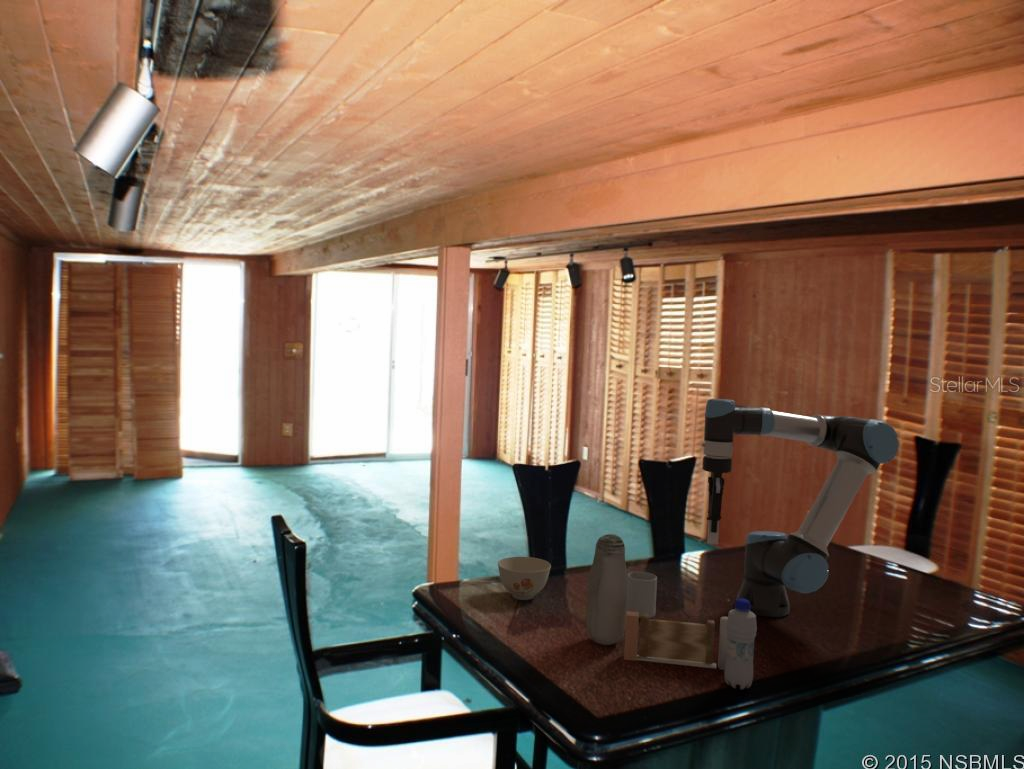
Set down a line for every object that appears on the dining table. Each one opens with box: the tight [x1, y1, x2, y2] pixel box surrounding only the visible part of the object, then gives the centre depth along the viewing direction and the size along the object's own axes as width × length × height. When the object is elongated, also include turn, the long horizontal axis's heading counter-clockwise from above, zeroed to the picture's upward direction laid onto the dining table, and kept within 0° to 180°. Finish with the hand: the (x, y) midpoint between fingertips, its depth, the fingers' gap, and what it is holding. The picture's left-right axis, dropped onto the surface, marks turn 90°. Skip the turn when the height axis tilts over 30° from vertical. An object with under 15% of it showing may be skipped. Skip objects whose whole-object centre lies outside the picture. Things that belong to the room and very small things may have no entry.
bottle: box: [723, 598, 758, 690], centre depth 172 cm, size 7×7×20 cm
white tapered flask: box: [585, 533, 629, 646], centre depth 194 cm, size 10×10×28 cm
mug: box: [627, 571, 658, 619], centre depth 218 cm, size 12×8×11 cm
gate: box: [638, 614, 716, 664], centre depth 183 cm, size 18×2×10 cm, turn 81°
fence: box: [623, 611, 728, 671], centre depth 183 cm, size 26×3×12 cm, turn 80°
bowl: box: [497, 556, 552, 601], centre depth 227 cm, size 16×16×10 cm
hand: (712, 543), depth 203 cm, fingers closed
